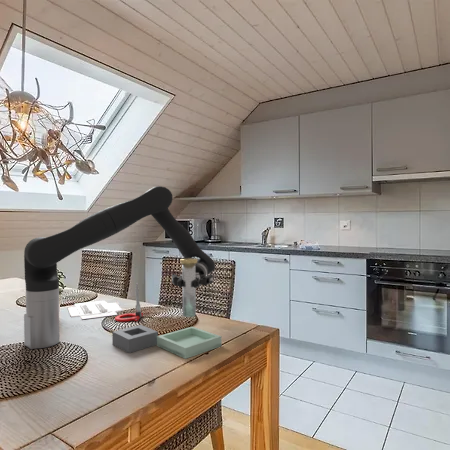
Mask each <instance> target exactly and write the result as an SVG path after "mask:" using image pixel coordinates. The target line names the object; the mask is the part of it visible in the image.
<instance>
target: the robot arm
mask: <svg viewBox="0 0 450 450" xmlns="http://www.w3.org/2000/svg"><path fill="white" fill-rule="evenodd" d="M172 203H173V193H172V192H171V190H170V189H169V188H168V187H165V186H161V185H160V186H159V185H158V186H153V187H151V188H150V189H148V190H146V191H145V192H144V193H143V194H141V195H139V196H137V197H135V198H133V199H130V200H128V201H124V202H121V203H118V204H113V205H112V206H109V207H106V208H104V209H101V210H99V211H97V212H94V213H92V214H91V215H89V216H86V217H85V218H83V219H82V220H80V221H79V222H78V223H76V224H75V225H73V226H71V227H70V228H68V229H65V230H63V231H60V232H58V233H55V234H52V235H49V236H46V237H45V236H44V237H42V236H41V237H39V236H38V237H35V238H33V239H31V240H29V241H28V242H27V244H26V245H25V247H24V251H23V252H24V253H23V254H24V255H23V257H24V259H23V264H24V266H23V267H24V281H25V311H26V312H25V313H24V314H23V324H24V325H23V329H24V330H23V332H24V335H23V337H24V338H23V340H24V346H26V347H27V348H28V349H29V350H33V349H35V350H36V349H43V348H49V347H53V346H55V345H57V344H59V343H60V336H61V335H60V280H59V275H58V265H57V264H58V263H59V262H61V261H62V260H64V259H66V258H67V257H68V256H70V255H72V254H74V253H76V252H77V251H79V250H81V249H84V248H87V247H90V246H92V245H94V244H96V243H99V242H101V241H103V240H105V239H108V238H110V237H112V236H114V235H117V234H118V233H119V232H122V231H123V230H125V229H127V228H129V227H130V226H132V225H134V224H136V223H137V222H138V221H140V220H142V219H144V218H146V217H148V216H151V217H152V218H154V220H155V221H157V223H158V225H159V226H160V227H161V228H162V229H163V230H164V231H165V233H166V234H167V235H168V237H169V238H170V239H171V241H172V242H173V244H174V245H175V247H176V249H177V250H178V251H179V253H180V255H182V257H183V258H197V264H195V274H196V279H195V280H194V288H196V289H197V288H199V287H201V286H204V287H205V286H208V285H210V284H213V283H214V276H213V274H212V272H214V271H215V269H216V264H215V261H214V259H213V258H212V257H211V256H209V255H208V254H206V253H205V252H204V251H203V250H202V249H201V247H199V245H198V243H197V242H196V241H195V239H194V237H193V236H192V235H191V234H190V232H189V231H188V230H187V229H186V228H185V226H183V225H182V224H181V222H179V221H178V220H177V219H176V218H175V217H174V215H173V214H172V213H171V211H170V209H169V208H170V206H171V205H172ZM171 283H172V285H174V286H175V287H176V286H177V287H178V288H179V289H181V288H182V274H180V275H179V276H178V275H177V274H175V273H173V274H171Z"/></svg>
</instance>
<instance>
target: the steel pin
mask: <svg viewBox="0 0 450 450" xmlns="http://www.w3.org/2000/svg"><path fill="white" fill-rule="evenodd" d="M197 260H198V258H197V257H192V258H184V257H183V258H180V259H179V261H180V264H181V265H182V266H181V267H182V269H181V271H182V273H181V275H182V287H181V288H182V294H181V295H182V317H185V318H191V317H195V316H197V315H196V314H197V311H196V310H197V308H196V307H197V306H196V301H197V300H196V299H197V297H196V296H197V294H196V293H197V292H196V289H197V288H194V280H195V279H196V274H195V264H197Z"/></svg>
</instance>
